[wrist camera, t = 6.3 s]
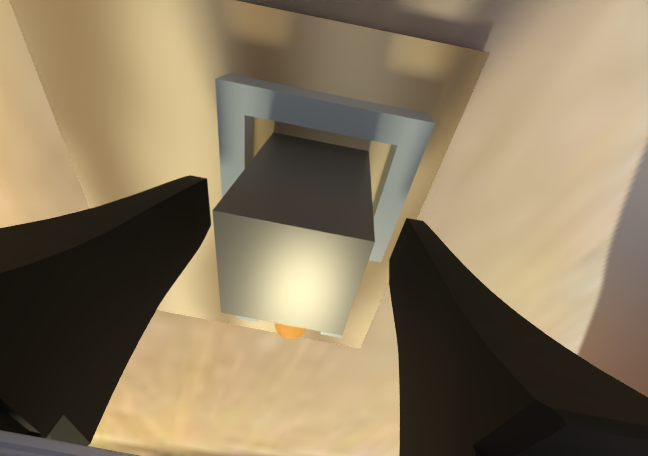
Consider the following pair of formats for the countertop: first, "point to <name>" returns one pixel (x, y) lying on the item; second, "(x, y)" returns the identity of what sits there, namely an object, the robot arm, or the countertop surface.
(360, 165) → the plug
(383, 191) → the holder
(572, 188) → the countertop surface
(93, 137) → the board
